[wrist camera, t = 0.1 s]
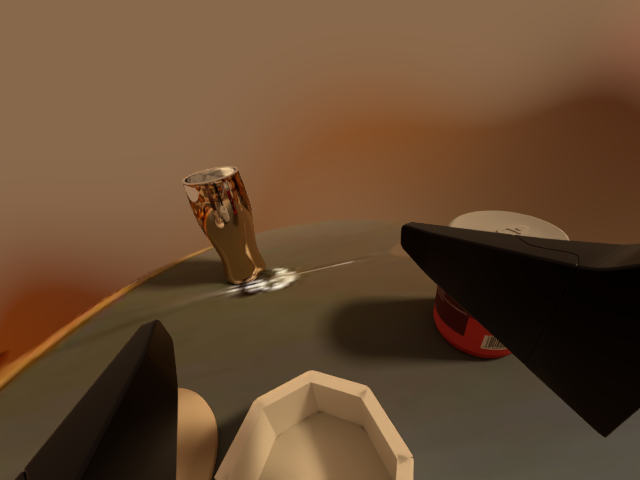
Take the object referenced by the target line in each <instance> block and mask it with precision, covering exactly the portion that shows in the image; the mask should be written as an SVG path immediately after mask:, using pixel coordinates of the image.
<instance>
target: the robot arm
mask: <svg viewBox="0 0 640 480" xmlns="http://www.w3.org/2000/svg"><path fill="white" fill-rule="evenodd" d="M401 245H402V247H403V249H404V250H405V251H406V252H407V253H408V255H409V256H410V257H411V258H412V259H413V260H414V261H415V262H416V264H417V265H418V266H419V267H420V268H421V269H422V270H423V271H424V272H425V273H426V274H427V275H428V276H429V277H430V278H431V279H432V280H433V281H434V282H435V283H436V284H437V285H438V286H439V287H441V288H442V289H443V290H444V291H445V292H446V293H447V294H448V295H449V296H450V297H451V298H452V299H454V300H455V301H456V302H457V303H458V304H459V305H460V306H461V307H462V308H463V309H464V310H466V311H467V312H468V313H469V314H470V315H471V316H472V317H473V318H474V319H475V320H476V321H477V322H479V323H480V324H481V325H482V326H483V327H484V328H485V329H486V330H487V331H488V332H489V333H491V334H492V335H493V336H494V337H495V338H496V339H497V340H498V341H499V342H500V343H501V344H503V345H504V346H505V347H506V348H507V349H508V350H509V351H510V352H511V353H512V354H513V355H514V356H516V357H517V358H518V359H519V360H520V361H521V362H522V363H523V364H525V366H526V367H527V368H528V369H529V370H531V371H532V372H533V373H534V374H535V375H536V376H537V377H538V378H539V379H540V380H541V381H542V382H544V383H545V384H546V385H547V386H548V387H549V388H550V389H551V390H552V391H553V392H554V393H555V394H557V395H558V396H559V397H560V398H561V399H562V400H563V401H564V402H565V403H566V404H567V405H569V406H570V407H571V408H572V409H573V410H574V411H575V412H576V413H577V414H578V415H579V416H580V417H582V418H583V419H584V420H585V421H586V422H587V423H588V424H589V425H590V426H591V427H592V428H593V429H595V430H596V431H597V432H598V433H599V434H601V435H602V436H603V437H605V438H606V437H607V436H608V435H609V434H611V433H612V432H613V431H614V430H615V429H616V428H617V427H619V426H620V425H621V424H622V423H623V422H624V421H626V420H627V419H628V418H629V417H630V416H631V415H632V414H634V413H635V412H636V411H637V410H638V409H639V408H640V244H631V245H620V244H605V243H592V242H581V241H570V240H559V239H548V238H539V237H530V236H521V235H512V234H505V233H497V232H489V231H480V230H472V229H464V228H456V227H448V226H440V225H432V224H424V223H415V222H410V223H407V224H405V225H403V226H402V228H401ZM177 429H178V384H177V374H176V365H175V355H174V346H173V341H172V338H171V336H170V335H169V333H168V332H167V330H166V329H165V328H164V326H163V325H162V323H161V322H160V321H159V320H154V321H151V322H148V323H146V324H143V325H142V326H140V328H139V329H138V330H137V331H136V332H135V334H134V335H133V336H132V337H131V339H130V340H129V341H128V342H127V343H126V345H125V346H124V347H123V348H122V350H121V351H120V352H119V353H118V354H117V356H116V357H115V358H114V359H113V360H112V362H111V363H110V364H109V365H108V367H107V368H106V369H105V370H104V371H103V373H102V374H101V375H100V376H99V378H98V379H97V380H96V381H95V382H94V384H93V385H92V386H91V387H90V389H89V390H88V391H87V392H86V393H85V395H84V396H83V397H82V398H81V400H80V401H79V402H78V403H77V404H76V406H75V407H74V408H73V409H72V411H71V412H70V413H69V414H68V415H67V417H66V418H65V419H64V420H63V422H62V423H61V424H60V425H59V426H58V428H57V429H56V430H55V431H54V433H53V434H52V435H51V436H50V437H49V439H48V440H47V441H46V442H45V444H44V445H43V446H42V447H41V448H40V450H39V451H38V452H37V453H36V455H35V456H34V457H33V458H32V459H31V461H30V462H29V463H28V464H27V465H26V467H25V469H24V471H25V472H21V473H20V474H19V475H18V476H17V478H16V479H15V480H176V470H177Z"/></svg>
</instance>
